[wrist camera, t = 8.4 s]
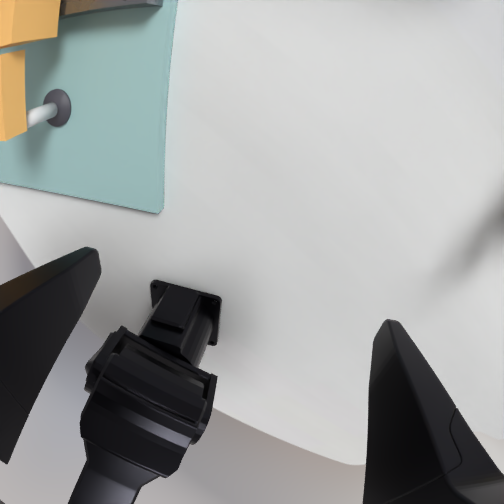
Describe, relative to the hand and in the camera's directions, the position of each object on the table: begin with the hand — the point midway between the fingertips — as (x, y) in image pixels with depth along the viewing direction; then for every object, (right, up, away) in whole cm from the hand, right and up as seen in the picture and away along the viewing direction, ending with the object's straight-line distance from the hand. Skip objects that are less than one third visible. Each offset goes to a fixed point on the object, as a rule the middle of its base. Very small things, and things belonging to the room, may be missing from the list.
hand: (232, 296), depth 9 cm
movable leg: (-13, +16, +6) cm, 22 cm away
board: (-16, +15, +10) cm, 24 cm away
